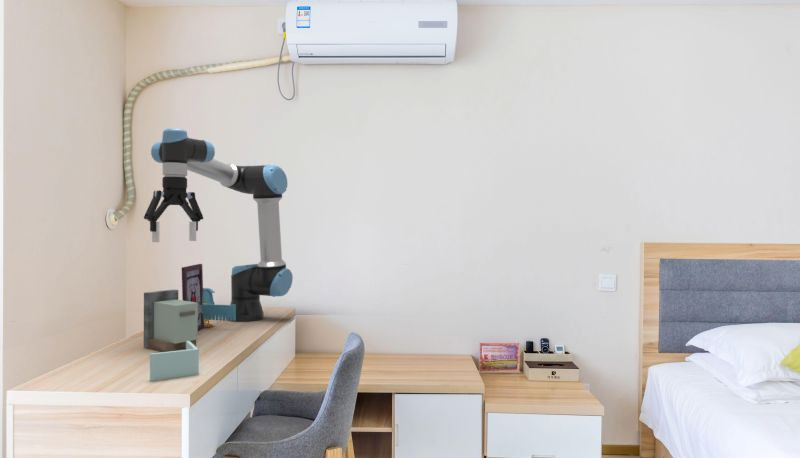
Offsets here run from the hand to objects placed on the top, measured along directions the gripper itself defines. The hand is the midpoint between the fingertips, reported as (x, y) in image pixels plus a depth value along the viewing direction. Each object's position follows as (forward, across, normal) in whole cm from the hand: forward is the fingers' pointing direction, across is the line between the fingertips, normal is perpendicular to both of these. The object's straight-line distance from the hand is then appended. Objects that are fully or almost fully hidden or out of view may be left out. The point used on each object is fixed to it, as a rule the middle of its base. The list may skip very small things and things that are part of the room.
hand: (174, 241), depth 181 cm
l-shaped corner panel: (+35, +19, +26) cm, 48 cm away
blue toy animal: (+35, -27, -21) cm, 49 cm away
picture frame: (+35, -16, -19) cm, 43 cm away
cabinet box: (+32, +1, +1) cm, 32 cm away
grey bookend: (+35, +1, 0) cm, 35 cm away
